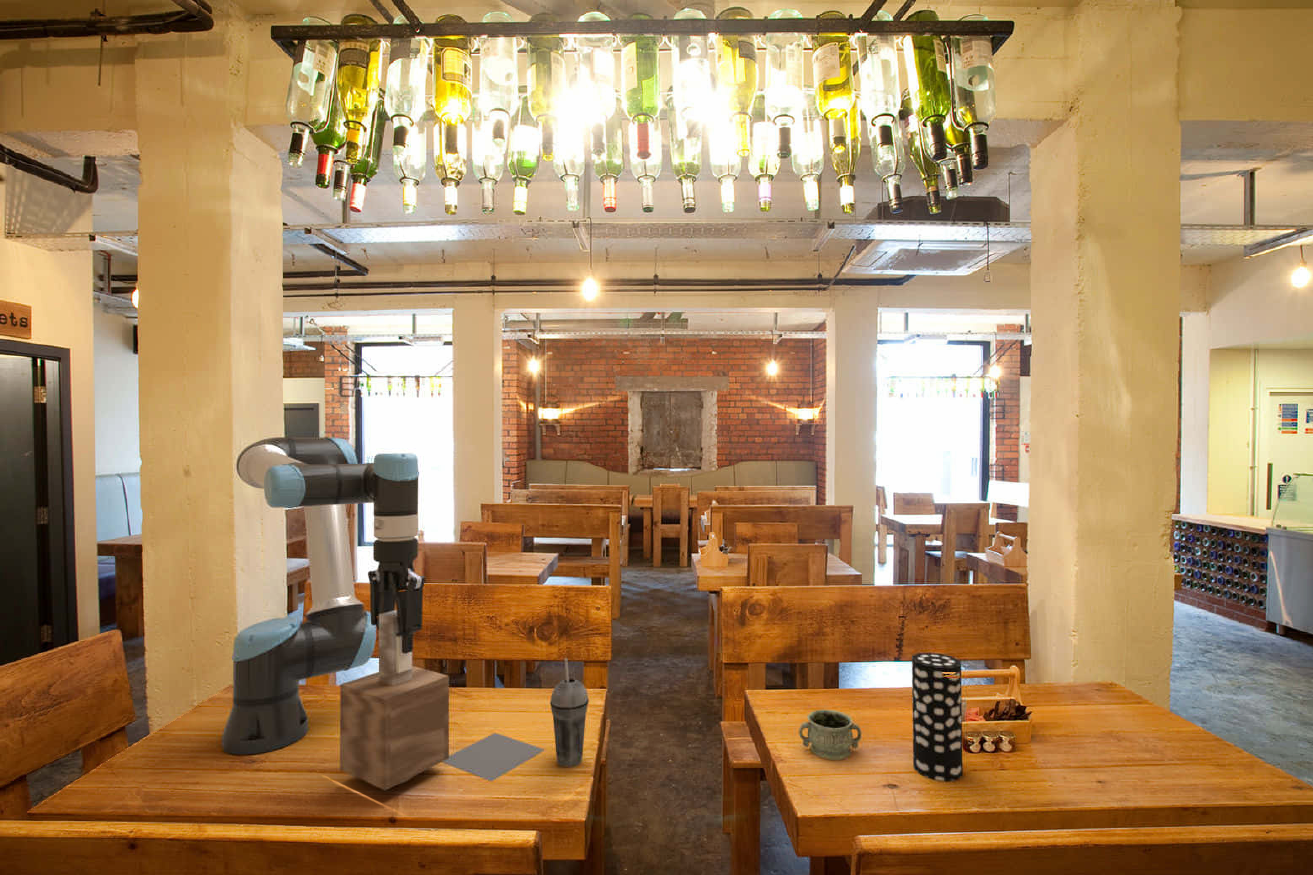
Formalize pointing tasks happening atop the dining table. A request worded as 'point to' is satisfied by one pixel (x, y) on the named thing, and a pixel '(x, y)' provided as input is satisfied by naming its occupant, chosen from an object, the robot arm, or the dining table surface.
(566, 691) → the beverage cup
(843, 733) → the vessel
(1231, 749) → the dining table surface
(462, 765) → the mat
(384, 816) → the dining table surface
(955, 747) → the white-spotted black cylinder
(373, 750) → the wooden block with peg
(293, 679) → the robot arm
